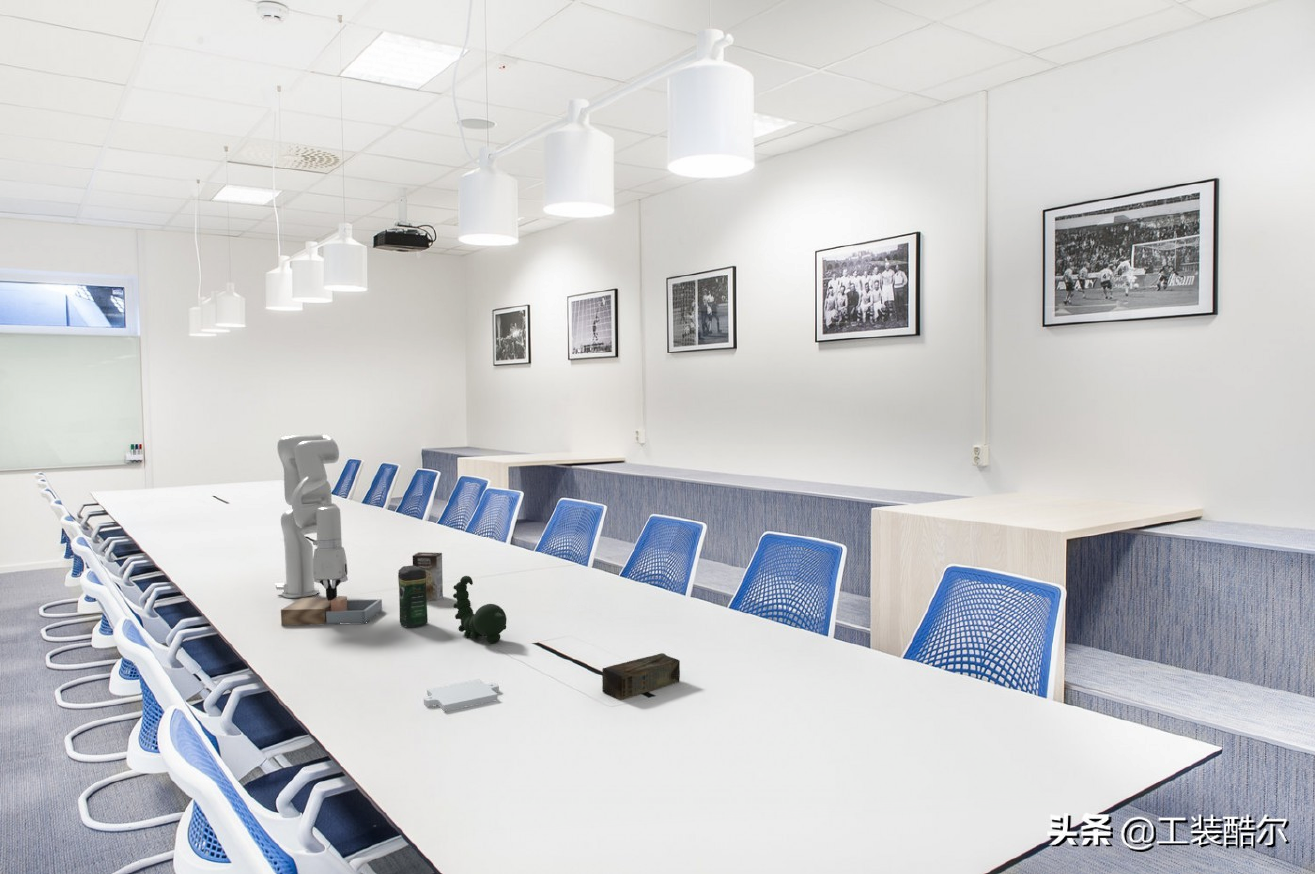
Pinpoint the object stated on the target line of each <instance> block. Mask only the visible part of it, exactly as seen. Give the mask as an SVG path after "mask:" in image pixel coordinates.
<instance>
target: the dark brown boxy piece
mask: <svg viewBox="0 0 1315 874" xmlns="http://www.w3.org/2000/svg"><path fill="white" fill-rule="evenodd" d="M680 662H681V661H680V659H677V658H674V657H671V656H669V655H666V653H664V652H663V653H657V654H653V655H649V656H645V657H641V658H637V659H632V660H629V661H625V662H620V663H618V664H613V665H610V666H606V667H603V668H602V674H601V675H602V680H601V681H602V682H601V684H602V689H601V691H602V693H604V694H606V695H608V696H611V697H613V698H615V699H617V700H618V701H621V700H625V699H629V698H632V697H635V696H636V697H637V696H639V695H641V694H645V693H650V692H652V691H655V690H658V689H662V688H665V687H669V686H671V685H675V684H677V683H680V678H681V670H680V669H681V667H680V666H681V665H680V664H681V663H680Z"/></svg>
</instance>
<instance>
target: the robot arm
mask: <svg viewBox="0 0 1315 874" xmlns="http://www.w3.org/2000/svg"><path fill="white" fill-rule="evenodd" d="M277 454H278V456H279V459H280V461H281V464H282V467H283V485H284V486H283V487H284V490H283V491H284V499H285V502H286V504H288V505H289V506H291V509H289V510H286V511H284V512H283V513H282V515H281V516H280V527H281V531H282V536H283V542H284V559H285V560H284V561H285V562H284V563H285V565H284V566H285V582H284V583H275V588H276V590H277V591H278V590H279V591H280V590H281V591H282V590H283V591H282V594H281V596H282V597H283V598H287V599H298V598H299V599H301V598H308V597H312V596H315V595H317V593H318V594H319V592H320V589H319V588H318V587H315V583H317V584H321V585H322V586H323V587H324V589H325V597H327V600H328V601H330V600H333V599H334V598H336V597H337V596H338V589H337V588H338V586H339V585H340V584H341V583H346V582H347V581H348V578H349V577H348V573H349V572H348V561H347V555H346V551H345V547H344V546H343V545H342V544H343V541H342V540H343V539H342V516H341V508H340V507H339V506H338V505H337V504H336V503H333V501H332V489H331V485H330V483H329V480H328V477H327V472H326V469H325V465H326V464H335V463H337V462H338V461H339V458H340V451H339V446H338V444H337V443H336V440H334V439H333V438H331V437H330V436H329V435H327V434H305V435H303V434H300V435H287V436H283V437H281V438H279V439H278V442H277ZM312 534H316V540H313V541H312V543H311V541H310V540H309V538H306V535H312ZM313 546H316V548H315V549H314V548H313Z"/></svg>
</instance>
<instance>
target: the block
mask: <svg viewBox="0 0 1315 874" xmlns="http://www.w3.org/2000/svg"><path fill="white" fill-rule="evenodd" d="M347 600H348V596H344V595H337V597H336V598H334V599H333V600H331V611H347Z"/></svg>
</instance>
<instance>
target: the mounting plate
mask: <svg viewBox="0 0 1315 874" xmlns="http://www.w3.org/2000/svg"><path fill="white" fill-rule="evenodd" d="M497 692H498V693H499V692H500V685H499V684H498V683H496V682H492V683H484V682H483V681H482V680H480V678H476V679H472V680H467V681H462V682H457V683H451V684H447V685H441V686H435V687H432V688H431V687H430V688H427V689H426V694H427V695H428V696H427V695H426V696H424V697H423V706H424V705H425V706H432V707H434V706H433V705H438V706H439V707H440V708H441V709H442V710H443V711H446V712H450V711H454V710H453V709H455V710H458V709H457V708H460V709H463V708H462V707H465V706H469V707H472V706H471V705H474V706H477V705H476V704H479V705H482V704H481V703H483V704H487V703H486V702H488V703H490V702H489V701H493V702H495V701H494V700H497V701H498V699H499V698H498V696H499V695H498V693H497ZM425 706H424V707H425ZM438 706H437V707H438ZM439 707H438V708H439ZM440 708H439V709H440ZM465 708H466V707H465ZM441 709H440V710H441ZM442 710H441V711H442ZM449 710H450V711H449ZM443 711H442V712H443Z"/></svg>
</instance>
